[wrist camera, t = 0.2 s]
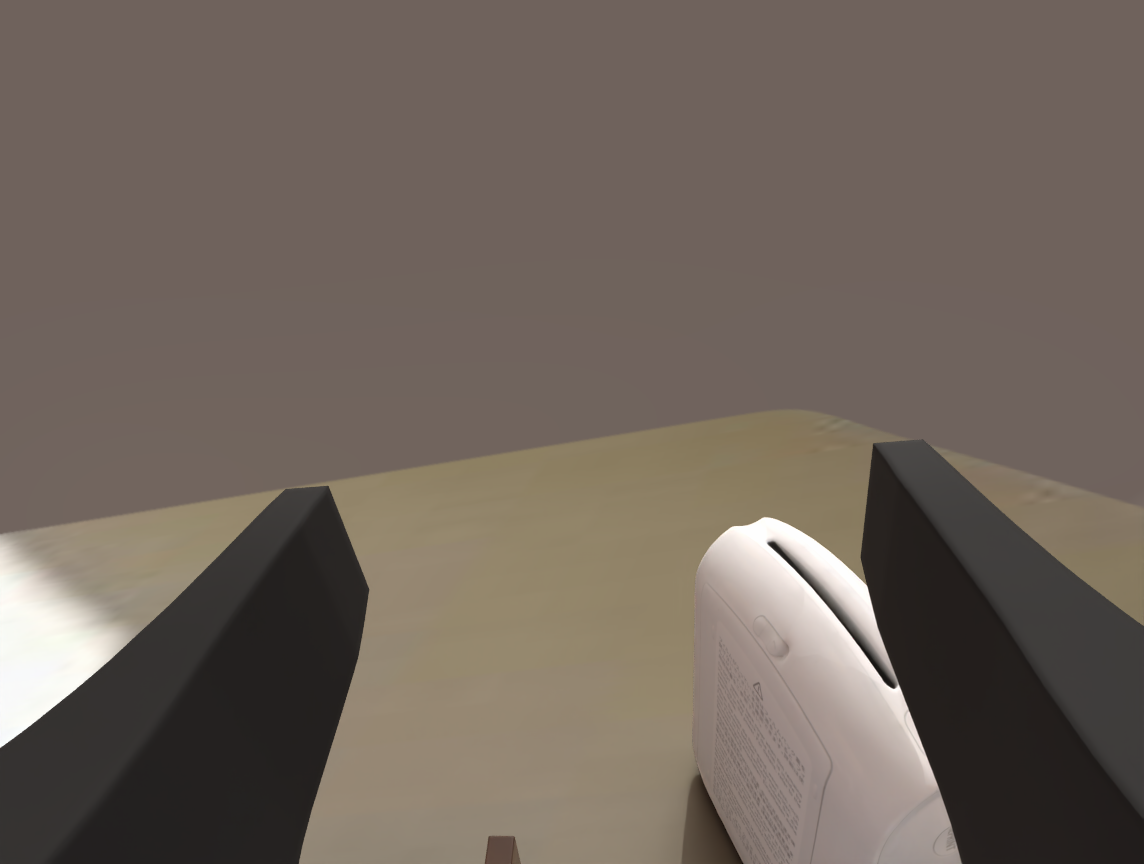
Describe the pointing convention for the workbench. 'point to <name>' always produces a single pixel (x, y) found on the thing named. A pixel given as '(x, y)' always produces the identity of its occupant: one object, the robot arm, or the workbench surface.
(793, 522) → the workbench surface
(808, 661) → the white boxy piece
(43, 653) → the workbench surface
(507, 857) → the shelf
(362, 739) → the workbench surface
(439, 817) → the workbench surface
